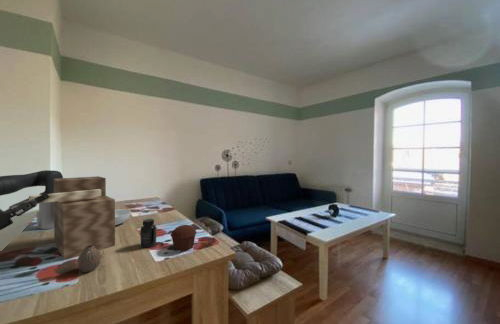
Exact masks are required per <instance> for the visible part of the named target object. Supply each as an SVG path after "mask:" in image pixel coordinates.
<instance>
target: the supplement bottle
mask: <svg viewBox="0 0 500 324" xmlns="http://www.w3.org/2000/svg"><path fill="white" fill-rule="evenodd" d="M156 244H157V225H156V224H155V219H154V218H147V219H143V221H142V226H141V227H140V247H142V248H151V247H153V246H156Z"/></svg>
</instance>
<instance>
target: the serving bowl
mask: <svg viewBox="0 0 500 324" xmlns="http://www.w3.org/2000/svg"><path fill="white" fill-rule="evenodd" d="M131 213H132V211H131V210H130V209H122V208H121V209H116V208H115V226H118V225H120V224H122V223H124V222H126V221H128V220H129V218H130V217H131Z"/></svg>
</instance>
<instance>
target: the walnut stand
mask: <svg viewBox="0 0 500 324" xmlns="http://www.w3.org/2000/svg"><path fill="white" fill-rule="evenodd" d="M106 180H107V179H106V177H102V176H99V175H97V176H79V177H63V178H60V179H54V193H63V192H74V191H84V190H95V189H101V196H98V197H89V198H81V199H72V200H64V201H55V202H54V228H53V230H54V234H53V235H54V236H53V237H54V239H53V241H54V244H55V246H56V247H57V249H58V252H59V253H60V255H61V257H62V260H63V261H65V260H70V259H73V258H77V257H79V256H80V254H81V253H82V252H83V250H84V249H85V247H86V246H89V245H93V246H94V247H95V248H96V249H97V250H98V251H100V250H104V249H108V248H111V247H114V246H115V247H116V225H115V210H116V199H115V198H113V197H110V196H107V193H106V185H107V183H106V182H107V181H106Z"/></svg>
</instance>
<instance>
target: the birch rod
mask: <svg viewBox="0 0 500 324" xmlns="http://www.w3.org/2000/svg"><path fill="white" fill-rule="evenodd" d="M47 195H48V196H49V198H48V199H46V200H44V201H42V202H40V203H47V202H55V201H64V200H72V199H81V198H89V197H98V196H101V189H95V190H84V191H74V192H63V193H53V194H47ZM38 196H40V195H39V194H33V195H28V198H29V201H30V200H31V199H34V198H36V197H38ZM29 205H30V204H29Z"/></svg>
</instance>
